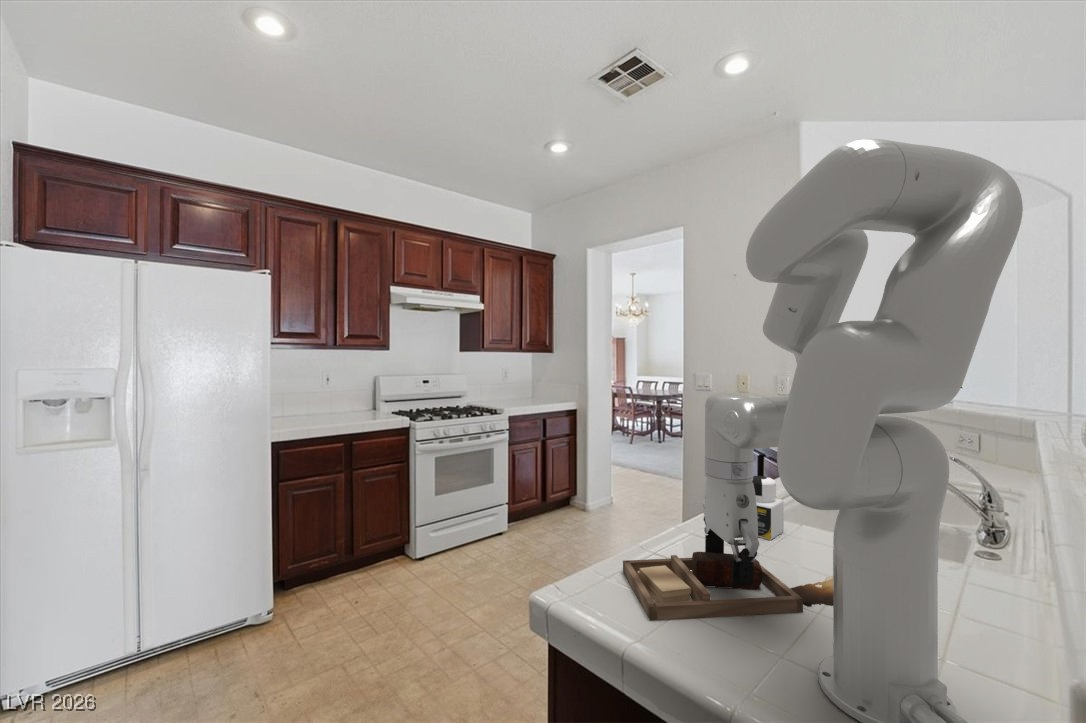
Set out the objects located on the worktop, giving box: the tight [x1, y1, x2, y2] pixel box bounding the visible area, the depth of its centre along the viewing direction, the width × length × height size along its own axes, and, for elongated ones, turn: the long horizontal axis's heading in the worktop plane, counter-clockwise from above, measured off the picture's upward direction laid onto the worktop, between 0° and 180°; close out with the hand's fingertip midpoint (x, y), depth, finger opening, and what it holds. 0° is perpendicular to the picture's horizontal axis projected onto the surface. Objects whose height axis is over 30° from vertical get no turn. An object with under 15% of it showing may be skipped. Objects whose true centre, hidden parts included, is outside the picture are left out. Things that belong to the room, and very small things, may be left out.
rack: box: [622, 554, 804, 621], centre depth 78 cm, size 16×24×3 cm
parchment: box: [789, 575, 833, 608], centre depth 79 cm, size 25×10×1 cm, turn 104°
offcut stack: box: [637, 565, 692, 603], centre depth 78 cm, size 10×5×3 cm, turn 13°
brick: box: [691, 551, 763, 590], centre depth 81 cm, size 11×4×5 cm, turn 83°
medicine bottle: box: [751, 475, 785, 541], centre depth 104 cm, size 7×7×12 cm
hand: (727, 570), depth 79 cm, fingers open, 9 cm apart
